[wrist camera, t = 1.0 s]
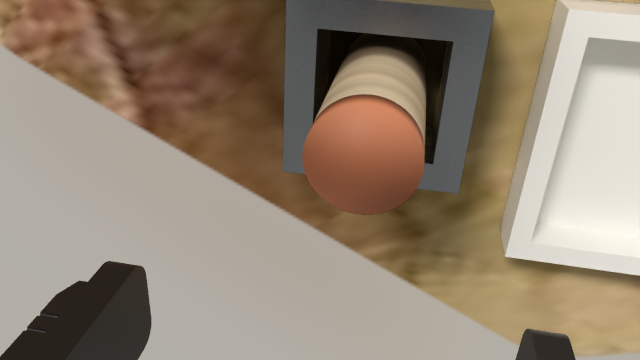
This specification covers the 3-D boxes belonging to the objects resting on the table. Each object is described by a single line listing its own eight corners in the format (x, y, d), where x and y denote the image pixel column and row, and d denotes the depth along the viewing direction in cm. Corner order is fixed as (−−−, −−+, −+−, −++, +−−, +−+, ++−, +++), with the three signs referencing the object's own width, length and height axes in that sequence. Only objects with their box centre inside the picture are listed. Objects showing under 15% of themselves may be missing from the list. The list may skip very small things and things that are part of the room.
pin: (346, 24, 27) (304, 98, 18) (432, 32, 26) (433, 112, 17) (340, 104, 28) (300, 206, 20) (420, 113, 28) (415, 222, 19)
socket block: (305, -25, 26) (286, -8, 22) (485, -9, 25) (494, 10, 21) (300, 136, 30) (282, 171, 26) (455, 154, 29) (458, 193, 25)
